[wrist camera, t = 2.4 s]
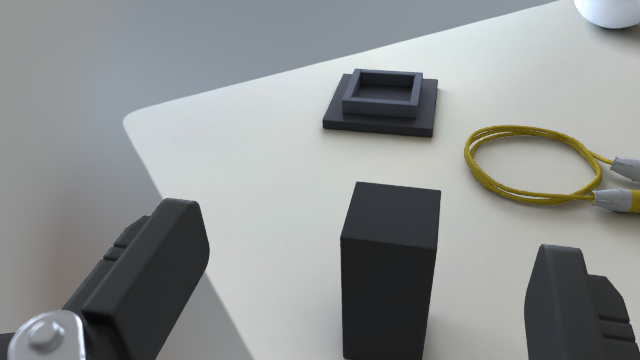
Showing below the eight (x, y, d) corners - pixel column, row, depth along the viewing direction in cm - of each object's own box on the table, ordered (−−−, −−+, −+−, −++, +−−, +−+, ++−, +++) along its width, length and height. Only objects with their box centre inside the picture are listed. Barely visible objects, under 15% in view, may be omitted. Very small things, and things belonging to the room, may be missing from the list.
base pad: (322, 128, 52) (321, 106, 50) (343, 81, 60) (343, 61, 59) (431, 137, 49) (434, 115, 48) (437, 87, 58) (439, 66, 56)
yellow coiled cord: (593, 258, 36) (602, 238, 35) (435, 159, 47) (438, 140, 45) (682, 194, 41) (692, 174, 40) (522, 117, 52) (526, 100, 51)
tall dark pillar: (342, 358, 30) (339, 237, 24) (356, 299, 34) (356, 180, 28) (420, 372, 29) (436, 249, 23) (425, 310, 33) (441, 189, 27)
